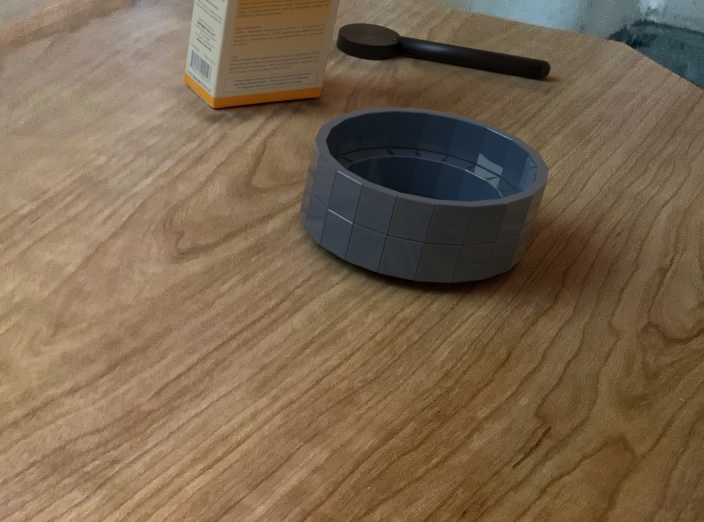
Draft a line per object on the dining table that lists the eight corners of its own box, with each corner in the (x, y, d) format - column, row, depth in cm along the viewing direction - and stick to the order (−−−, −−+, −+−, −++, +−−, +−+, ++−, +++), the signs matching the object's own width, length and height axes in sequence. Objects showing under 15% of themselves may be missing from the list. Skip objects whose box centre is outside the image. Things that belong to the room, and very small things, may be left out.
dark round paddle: (549, 68, 99) (554, 51, 98) (545, 90, 96) (551, 73, 95) (341, 32, 102) (345, 16, 102) (331, 52, 99) (334, 36, 98)
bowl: (404, 172, 85) (424, 92, 81) (566, 258, 77) (596, 174, 74) (253, 216, 79) (269, 132, 76) (413, 314, 72) (437, 226, 68)
